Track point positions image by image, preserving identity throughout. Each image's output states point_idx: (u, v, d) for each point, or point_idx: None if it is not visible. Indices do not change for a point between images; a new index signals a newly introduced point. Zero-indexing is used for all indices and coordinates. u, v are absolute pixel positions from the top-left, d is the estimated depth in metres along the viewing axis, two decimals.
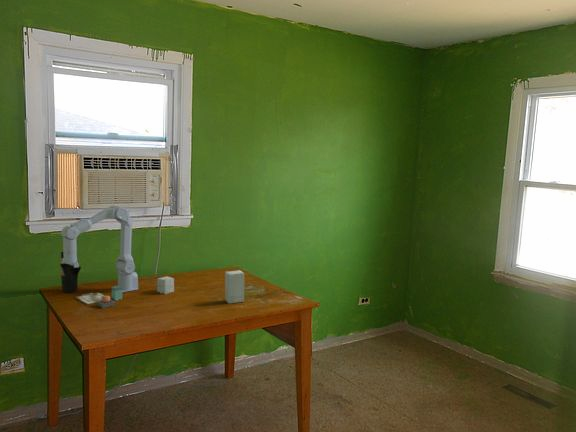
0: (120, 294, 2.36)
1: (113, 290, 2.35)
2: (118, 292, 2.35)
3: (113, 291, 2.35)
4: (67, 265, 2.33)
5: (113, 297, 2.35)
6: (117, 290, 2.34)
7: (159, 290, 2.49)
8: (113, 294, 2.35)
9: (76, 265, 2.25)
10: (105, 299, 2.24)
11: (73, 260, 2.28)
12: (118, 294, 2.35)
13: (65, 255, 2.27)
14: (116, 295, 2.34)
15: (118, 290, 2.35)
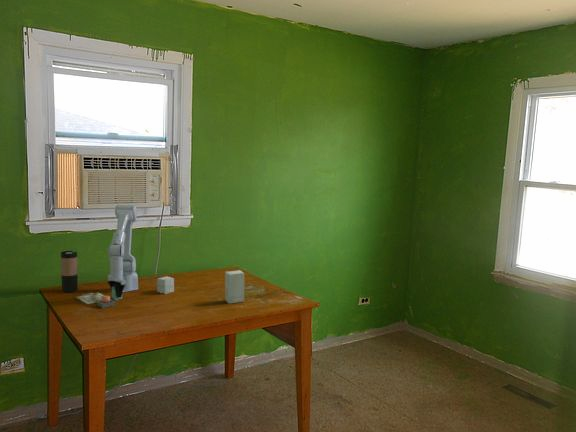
0: None
1: (113, 290, 2.35)
2: None
3: (113, 291, 2.35)
4: (114, 282, 2.37)
5: (113, 297, 2.35)
6: None
7: (159, 290, 2.49)
8: (113, 294, 2.35)
9: (123, 282, 2.30)
10: (105, 299, 2.24)
11: (120, 277, 2.34)
12: None
13: (112, 272, 2.32)
14: None
15: None
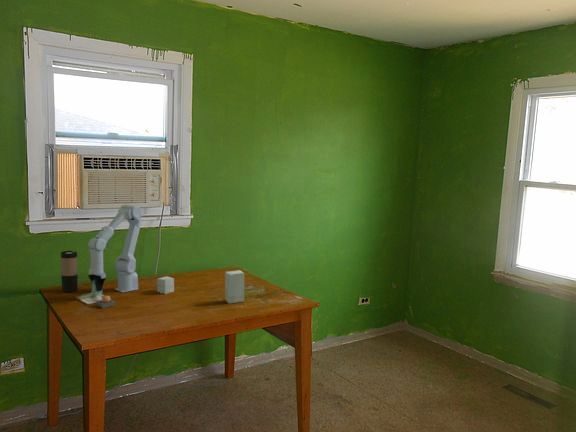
0: None
1: (93, 284, 2.35)
2: None
3: (93, 285, 2.36)
4: (95, 276, 2.38)
5: (93, 291, 2.36)
6: None
7: (159, 290, 2.49)
8: (93, 288, 2.36)
9: (103, 276, 2.31)
10: (105, 299, 2.24)
11: (100, 271, 2.35)
12: None
13: (92, 266, 2.33)
14: (96, 289, 2.35)
15: None
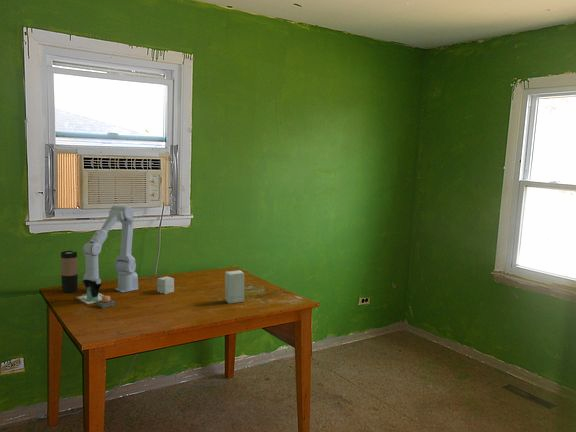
0: None
1: (88, 291, 2.31)
2: None
3: (88, 292, 2.31)
4: (90, 281, 2.33)
5: (88, 298, 2.31)
6: None
7: (159, 290, 2.49)
8: (88, 295, 2.31)
9: (98, 281, 2.26)
10: (105, 299, 2.24)
11: (95, 276, 2.29)
12: None
13: (87, 271, 2.28)
14: (92, 296, 2.30)
15: None
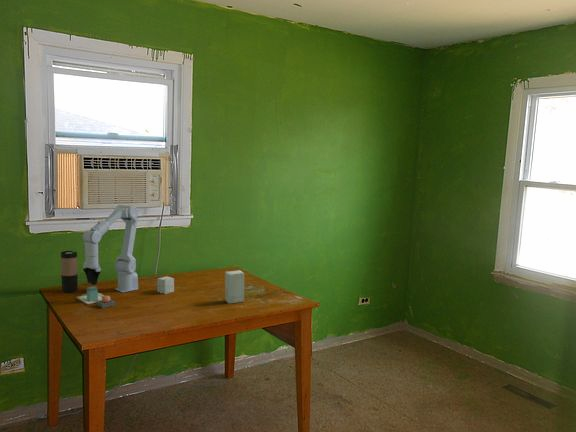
0: (95, 295, 2.32)
1: (88, 291, 2.31)
2: (94, 293, 2.31)
3: (88, 292, 2.31)
4: (90, 270, 2.32)
5: (88, 298, 2.31)
6: (92, 291, 2.30)
7: (159, 290, 2.49)
8: (88, 295, 2.31)
9: (98, 269, 2.25)
10: (105, 299, 2.24)
11: (95, 264, 2.29)
12: (93, 295, 2.31)
13: (87, 259, 2.27)
14: (92, 296, 2.30)
15: (93, 291, 2.31)
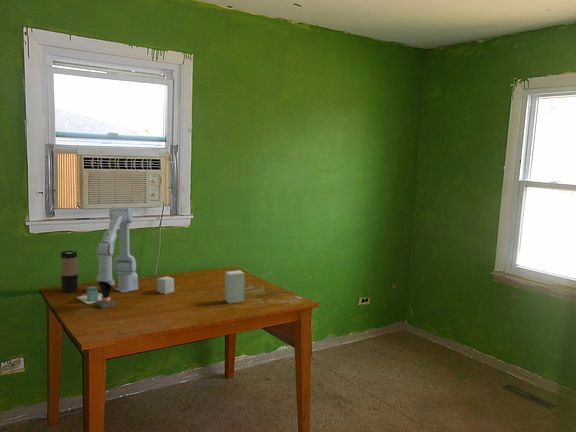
0: (95, 295, 2.32)
1: (88, 291, 2.31)
2: (94, 293, 2.31)
3: (88, 292, 2.31)
4: None
5: (88, 298, 2.31)
6: (92, 291, 2.30)
7: (159, 290, 2.49)
8: (88, 295, 2.31)
9: (112, 283, 2.19)
10: (105, 300, 2.24)
11: (109, 277, 2.23)
12: (93, 295, 2.31)
13: (101, 272, 2.21)
14: (92, 296, 2.30)
15: (93, 291, 2.31)
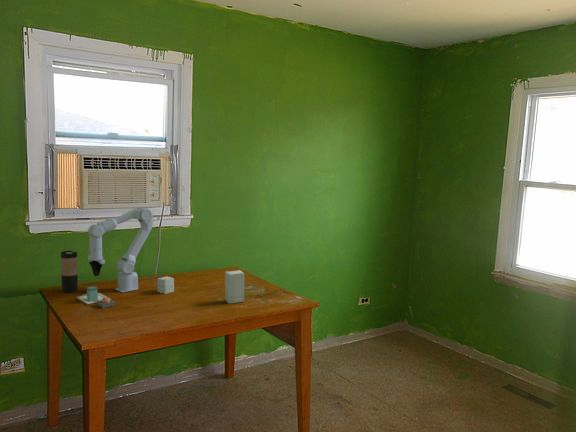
0: (95, 295, 2.32)
1: (88, 291, 2.31)
2: (94, 293, 2.31)
3: (88, 292, 2.31)
4: None
5: (88, 298, 2.31)
6: (92, 291, 2.30)
7: (159, 290, 2.49)
8: (88, 295, 2.31)
9: (102, 262, 2.36)
10: (105, 301, 2.24)
11: (99, 257, 2.40)
12: (93, 295, 2.31)
13: (91, 252, 2.38)
14: (92, 296, 2.30)
15: (93, 291, 2.31)
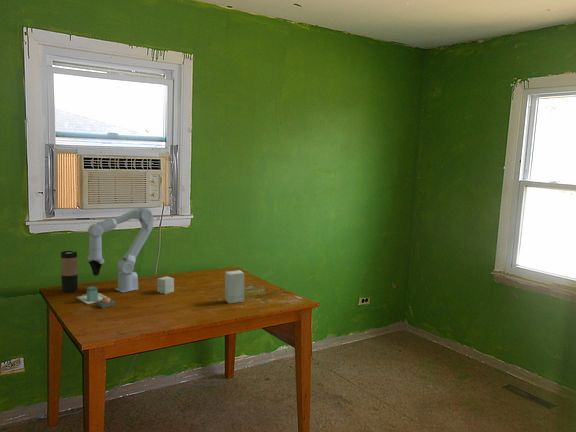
0: (95, 295, 2.32)
1: (88, 291, 2.31)
2: (94, 293, 2.31)
3: (88, 292, 2.31)
4: None
5: (88, 298, 2.31)
6: (92, 291, 2.30)
7: (159, 290, 2.49)
8: (88, 295, 2.31)
9: (102, 261, 2.37)
10: (105, 301, 2.24)
11: (98, 256, 2.40)
12: (93, 295, 2.31)
13: (91, 252, 2.39)
14: (92, 296, 2.30)
15: (93, 291, 2.31)
